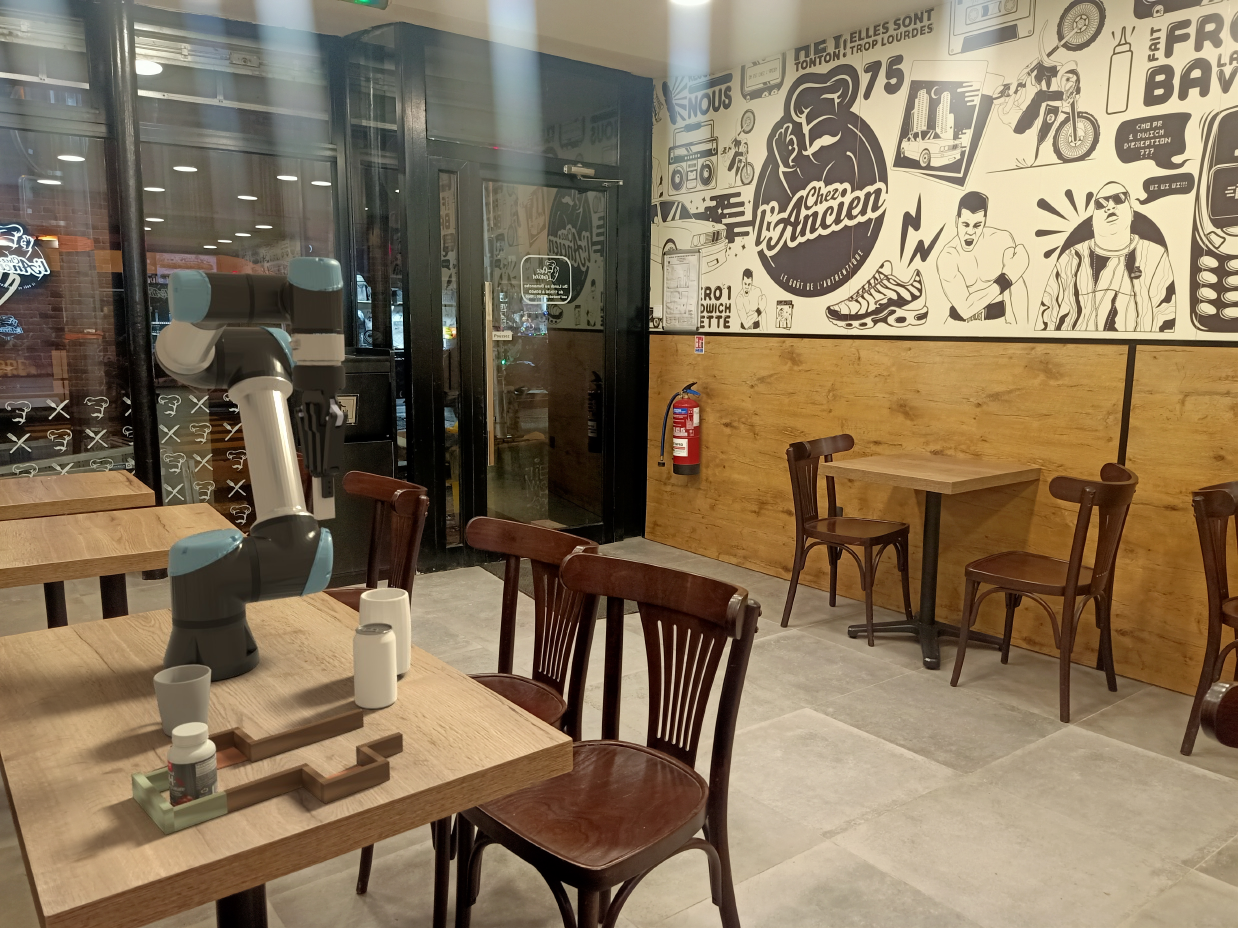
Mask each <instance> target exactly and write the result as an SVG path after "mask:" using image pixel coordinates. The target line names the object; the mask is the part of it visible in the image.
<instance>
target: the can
mask: <svg viewBox="0 0 1238 928" xmlns="http://www.w3.org/2000/svg"><path fill="white" fill-rule="evenodd" d="M392 628H393V627H392V626H391V625H390V624H386V623H370V624H365V625H361V626H357V627H356V628H355V630H354V631H355V634H354V636H353V639H352V658H353V686H354V702H355V705H357V706H358V707H359V708H360V709H364V710H365V709H366V710H380V709H384V708H387V707H390V706H392V705H393V704H395V702H396V700H398V675H397V666H396V638H395V634H394V632H393V631H392Z"/></svg>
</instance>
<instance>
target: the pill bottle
mask: <svg viewBox="0 0 1238 928" xmlns="http://www.w3.org/2000/svg"><path fill="white" fill-rule="evenodd" d="M208 735H210V734H209V727H208V724H207V725H206V724H205V723H200V722H192V723H186V724H183V725H180V726H178V727H176V728H174V729H173V731H172V737H171V742H172V745H173V746H172V745H171V746H172V747H171V748H169V749H168V750H167V755H166V758H167V761H166V762H167V767H168V777H169V789H168V790H169V803H170V804H171V805H172V806H173V807H176V806H179V805H182V804H185V803H188V802H191V801H194V800H197V799H200V798H203V797H206V796H209V795H212V794H215V793H218V792H219V786H218V785H219V783H218V780H219V779H218V770H217V763H216V747H215V744H214V743H213V742H212V741H211V740H209V739H208V737H209V736H208Z"/></svg>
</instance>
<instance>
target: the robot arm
mask: <svg viewBox="0 0 1238 928" xmlns="http://www.w3.org/2000/svg"><path fill="white" fill-rule="evenodd" d="M287 265H288V266H287V267H288V268H287V274H279V273H278V274H277V273H276V274H273V273H251V272H250V273H249V272H247V273H246V272H226V271H225V272H223V271H209V270H198V269H193V270H176V271H173V272H172V273H170V275H169V277H168V282H167V283H168V284H167V298H168V299H167V300H168V302H167V303H168V309H169V310H168V311H169V313H170V317H171V318H172V319H171V320H170V324H168V325H166V326H165V327H164V328H162V329H161V331H160V332H159V333H158V335H157V337H156V341H155V344H154V355H155V357H156V361H157V363H158V364H159V366H160V368H161V369H162V370H163V371H164V372H165V373H166V374H167V375H169V376H171V378H173V379H174V380H177V381H178V382H181V383H182V384H185V385H189V386H191V387H195V388H200V389H227V394H228V398H229V400H230V401H231V402H233V403H234V404H236V405H238V408H239V416H240V421H241V427H242V433H243V439H244V440H243V441H244V445H245V452H246V458H247V464H248V470H249V477H250V482H251V483H250V484H251V489H252V495H253V496H252V497H253V502H254V506H255V509H254V510H255V513H256V520H255V521H254V523H252V525H251V526H250V528H249V534H250V536H244V535H243V533H242V532H241V530H240V529H237V528H225V529H222V528H220V529H211V530H207V531H202V532H198V533H195V534H191V535H188V536H185V537H183V538H180V539H178V540H177V541H176V542H174V543H173V544H172V546H170V548H169V549H168V569H167V574H168V576H169V590H170V591H169V592H170V607H171V608H170V609H171V611H170V612H171V622H172V623H171V624H172V625H171V626H172V628H171V632H170V636H169V639H168V643H167V646H166V649H165V652H164V656H163V660H162V661H163V662H162V664H163V665H162V666H163V670H165V669H168V668H172V667H177V666H183V665H203V666H207V667H209V668H210V669H211V682H212V681H219V680H220V681H221V680H224V679H229V678H233V677H236V676H239V675H243V674H245V673H248V672H249V671H251V670H253V669H255V667H257V666H258V664H259V663H260V650H259V647H258V645H257V641H256V639H255V637H254V635H253V633H252V630H251V628H250V625H249V623H248V619H247V611H246V610H247V609H246V607H247V606H246V605H247V604H252V603H259V602H267V601H275V600H281V599H289V598H295V597H300V598H303V597H304V596H307V595H312V594H318V593H321V592H324V591H325V589H326V588H327V587H328V585H329V583H330V580H331V577H332V572H333V565H334V564H333V562H334V546H333V545H334V544H333V538H332V534H331V531H330V530H329V528H325V527H323V526H322V527H320V528H319V522H318V521H321V520H323V521H324V520H329V519H335V518H336V507H335V481H334V478H335V476H336V475H337V474H340V473H341V474H342V470H343V458H344V447H345V437H346V436H345V434H346V426H347V422H348V420H349V414H348V411H341V410H340V408H339V406H340V403H339V399H338V398H339V397H338V393H337V392H338V391H339V390H340V391H341V390H344V389H345V388H346V367H345V366H344V364H342V362H343V361H345V358H346V356H345V351H346V350H345V334H344V306H343V304H344V302H343V298H344V297H343V286H344V281H343V276H342V270H341V269H342V267H341V264H340V262H339V260H337V259H335V258H331V257H330V258H329V257H319V256H318V257H316V256H315V257H314V256H313V257H312V256H300V257H299V256H298V257H293V258H291V259H289V260H288V263H287ZM228 324H281V325H282V324H284V325H285V324H287V325H290V334H291V335H290V334H289V333H288V332H287V331H285V330H283V329H282V328H279V327H266V326H258V327H247V326H246V327H242V326H240V327H237V326H235V327H234V326H227V325H228ZM293 390H297V391H302V397H301V403H302V405H301V406H300V407H294V411H293V412H294V416H295V419H296V422H297V429H298V433H299V434H298V435H299V441H300V447H301V454H302V455H301V456H302V461H303V462H302V463H303V467H304V470H305V471H309V474H310V476H312V479H311V480H312V499H313V500H312V502H313V506H312V507H313V514H312V513H311V512H309V511H308V510H307V507H306V502H305V501H306V500H305V496H304V488H303V484H302V479H301V473H300V467H299V462H298V461H299V460H298V457H297V450H296V445H295V440H294V439H295V438H294V434H293V429H292V424H291V423H292V422H291V417H290V411H289V406H288V401H287V399H288V398H289V397H290V396H291V395H292V393H293Z"/></svg>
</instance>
